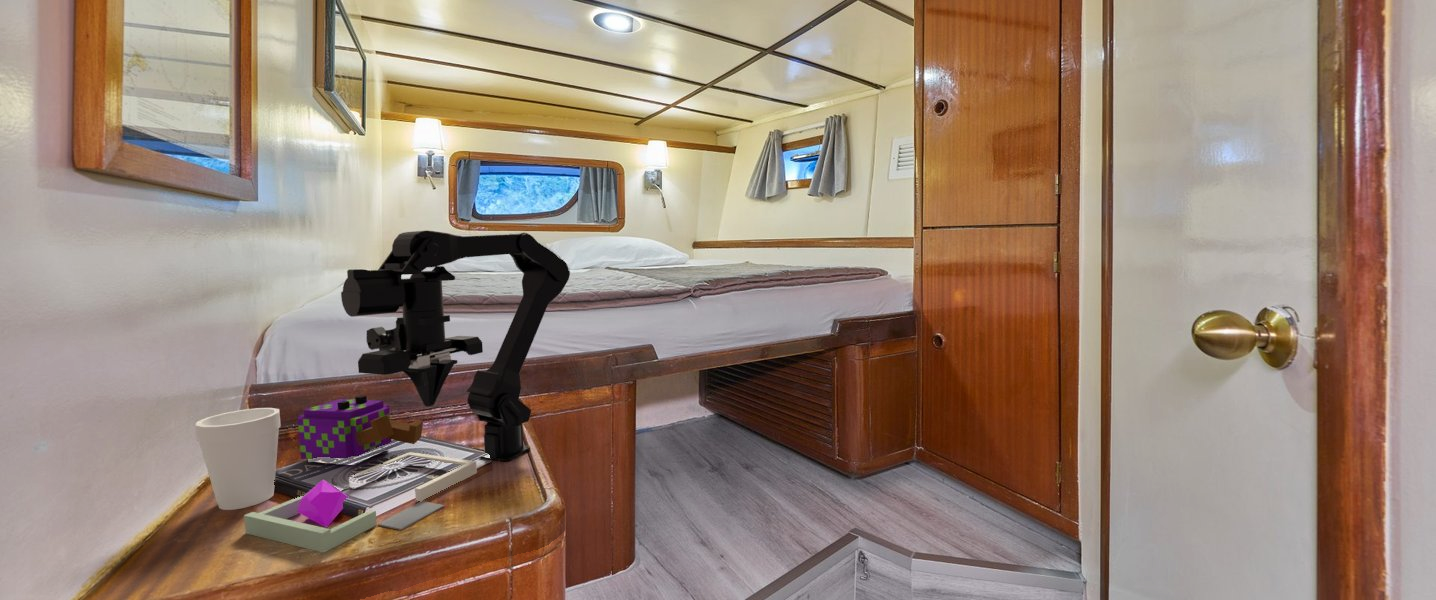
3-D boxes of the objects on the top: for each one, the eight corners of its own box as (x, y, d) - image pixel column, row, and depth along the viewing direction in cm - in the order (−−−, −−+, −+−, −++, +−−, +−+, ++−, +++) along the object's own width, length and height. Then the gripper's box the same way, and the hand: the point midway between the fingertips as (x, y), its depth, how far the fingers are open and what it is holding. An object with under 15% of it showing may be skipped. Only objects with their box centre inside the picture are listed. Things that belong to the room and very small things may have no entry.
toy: (381, 409, 89) (284, 404, 93) (385, 471, 90) (290, 464, 94) (424, 393, 99) (336, 390, 103) (428, 450, 100) (340, 444, 104)
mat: (421, 502, 78) (421, 501, 78) (444, 506, 77) (443, 505, 77) (377, 525, 72) (377, 523, 72) (401, 530, 70) (401, 528, 70)
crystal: (292, 525, 72) (290, 493, 72) (329, 507, 77) (327, 477, 77) (323, 529, 71) (321, 496, 70) (358, 510, 76) (356, 479, 76)
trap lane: (410, 462, 93) (409, 449, 93) (476, 472, 89) (476, 458, 88) (245, 533, 70) (243, 515, 70) (323, 552, 65) (322, 533, 65)
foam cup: (237, 517, 74) (228, 428, 73) (186, 512, 76) (177, 425, 75) (302, 488, 84) (295, 409, 82) (255, 484, 85) (248, 406, 84)
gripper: (433, 304, 95) (438, 388, 96) (327, 315, 77) (335, 418, 79) (482, 305, 91) (487, 392, 92) (383, 317, 74) (390, 425, 75)
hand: (429, 405), depth 85 cm, fingers closed
